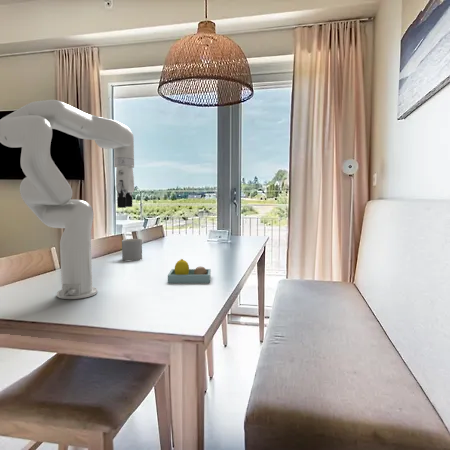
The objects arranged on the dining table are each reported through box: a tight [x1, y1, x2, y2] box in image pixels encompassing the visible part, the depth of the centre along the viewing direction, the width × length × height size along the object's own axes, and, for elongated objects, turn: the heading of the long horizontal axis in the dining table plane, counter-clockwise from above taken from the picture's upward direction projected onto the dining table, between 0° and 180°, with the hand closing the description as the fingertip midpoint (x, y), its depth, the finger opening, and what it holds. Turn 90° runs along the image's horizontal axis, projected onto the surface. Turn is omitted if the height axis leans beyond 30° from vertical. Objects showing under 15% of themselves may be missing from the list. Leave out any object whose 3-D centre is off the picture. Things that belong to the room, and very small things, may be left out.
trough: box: [167, 268, 212, 284], centre depth 142 cm, size 11×16×4 cm
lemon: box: [174, 258, 190, 275], centre depth 141 cm, size 6×6×8 cm
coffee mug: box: [121, 238, 143, 261], centre depth 191 cm, size 13×10×10 cm
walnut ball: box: [194, 266, 207, 275], centre depth 142 cm, size 5×5×5 cm
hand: (125, 207), depth 146 cm, fingers open, 9 cm apart
